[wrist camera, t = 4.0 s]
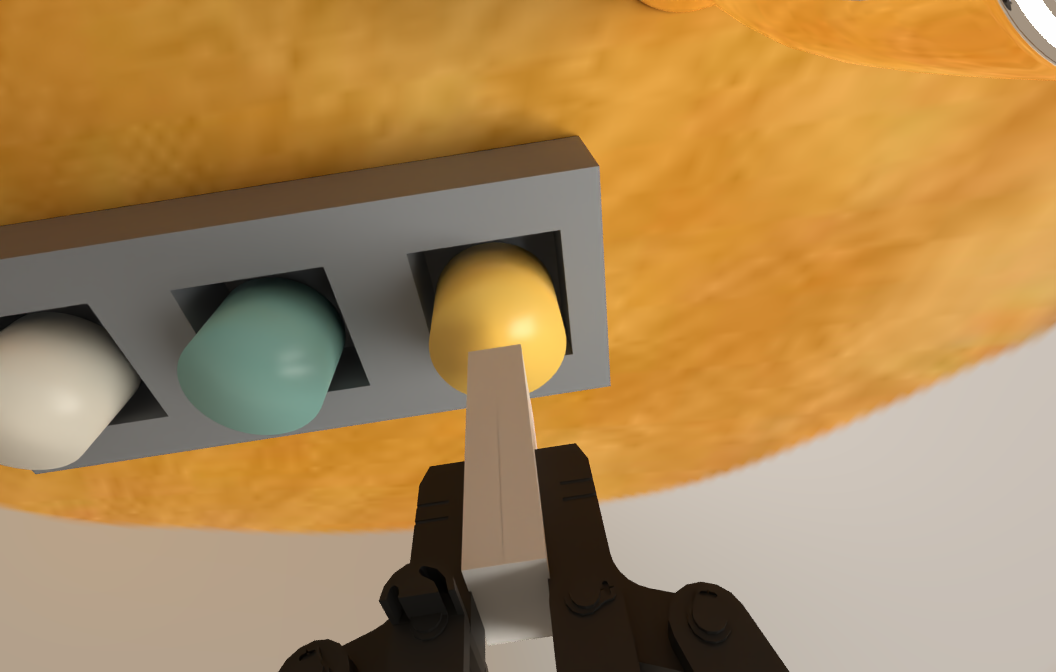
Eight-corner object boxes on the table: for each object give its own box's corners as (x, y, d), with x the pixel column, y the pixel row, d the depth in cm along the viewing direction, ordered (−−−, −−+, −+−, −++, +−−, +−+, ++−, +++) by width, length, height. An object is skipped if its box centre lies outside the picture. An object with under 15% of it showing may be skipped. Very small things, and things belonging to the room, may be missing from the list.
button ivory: (55, 413, 21) (-10, 478, 18) (-26, 322, 18) (-115, 381, 15) (163, 396, 21) (115, 459, 18) (97, 303, 18) (29, 359, 15)
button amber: (450, 353, 20) (445, 408, 18) (423, 252, 18) (413, 299, 15) (559, 336, 20) (571, 389, 18) (547, 233, 18) (559, 276, 15)
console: (95, 408, 24) (35, 473, 21) (-49, 233, 19) (-157, 283, 16) (592, 332, 24) (610, 385, 21) (578, 135, 19) (599, 166, 16)
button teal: (252, 383, 20) (217, 443, 18) (198, 287, 18) (148, 340, 15) (361, 366, 20) (342, 424, 18) (321, 268, 18) (293, 318, 15)
